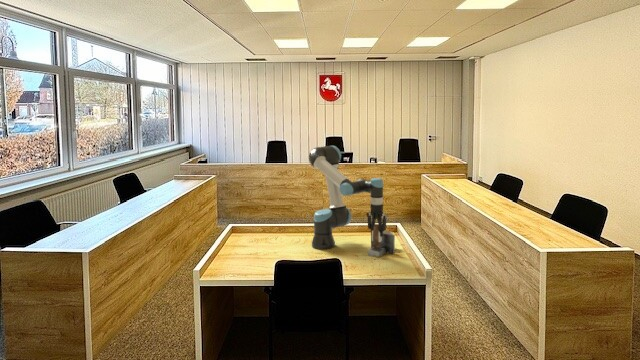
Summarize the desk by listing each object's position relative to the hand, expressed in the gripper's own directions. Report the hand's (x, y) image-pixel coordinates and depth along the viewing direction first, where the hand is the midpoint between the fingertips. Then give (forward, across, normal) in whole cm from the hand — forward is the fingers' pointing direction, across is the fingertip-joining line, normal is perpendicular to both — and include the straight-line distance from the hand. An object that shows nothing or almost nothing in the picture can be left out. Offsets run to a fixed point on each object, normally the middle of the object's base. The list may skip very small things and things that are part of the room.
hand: (376, 240), depth 326 cm
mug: (+9, -4, +14) cm, 17 cm away
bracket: (+9, 0, +2) cm, 9 cm away
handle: (+4, 0, 0) cm, 4 cm away
